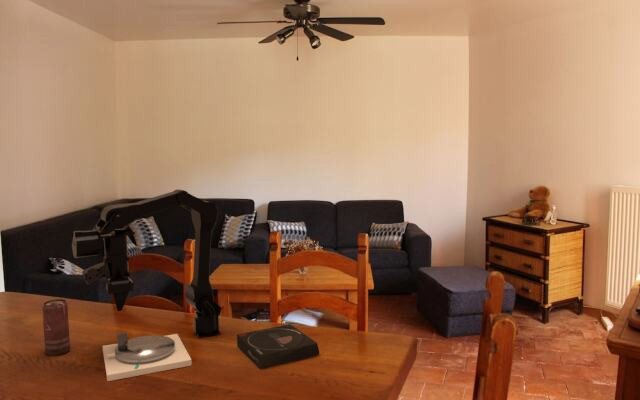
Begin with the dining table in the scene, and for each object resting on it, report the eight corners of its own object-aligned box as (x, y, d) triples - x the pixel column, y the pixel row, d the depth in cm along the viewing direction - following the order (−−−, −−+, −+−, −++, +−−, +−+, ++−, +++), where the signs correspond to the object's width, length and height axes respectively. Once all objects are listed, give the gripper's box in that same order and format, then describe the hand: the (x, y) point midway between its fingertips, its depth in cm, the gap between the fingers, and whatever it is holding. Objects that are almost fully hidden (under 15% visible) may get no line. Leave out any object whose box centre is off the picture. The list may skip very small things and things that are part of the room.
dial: (169, 337, 146) (169, 317, 146) (179, 356, 133) (178, 335, 132) (105, 347, 139) (103, 327, 138) (108, 369, 125) (107, 347, 125)
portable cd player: (319, 356, 138) (319, 342, 137) (259, 371, 129) (259, 355, 129) (292, 336, 152) (292, 323, 152) (237, 348, 144) (236, 334, 143)
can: (61, 357, 137) (57, 306, 136) (40, 355, 139) (36, 304, 137) (76, 348, 143) (73, 299, 142) (55, 346, 145) (52, 297, 143)
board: (177, 338, 150) (177, 333, 150) (191, 365, 132) (191, 359, 132) (102, 351, 141) (102, 345, 141) (107, 381, 123) (106, 374, 123)
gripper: (82, 249, 142) (85, 304, 144) (83, 263, 125) (87, 325, 127) (125, 245, 147) (128, 298, 148) (132, 258, 130) (135, 318, 132)
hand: (119, 309), depth 139 cm, fingers closed
